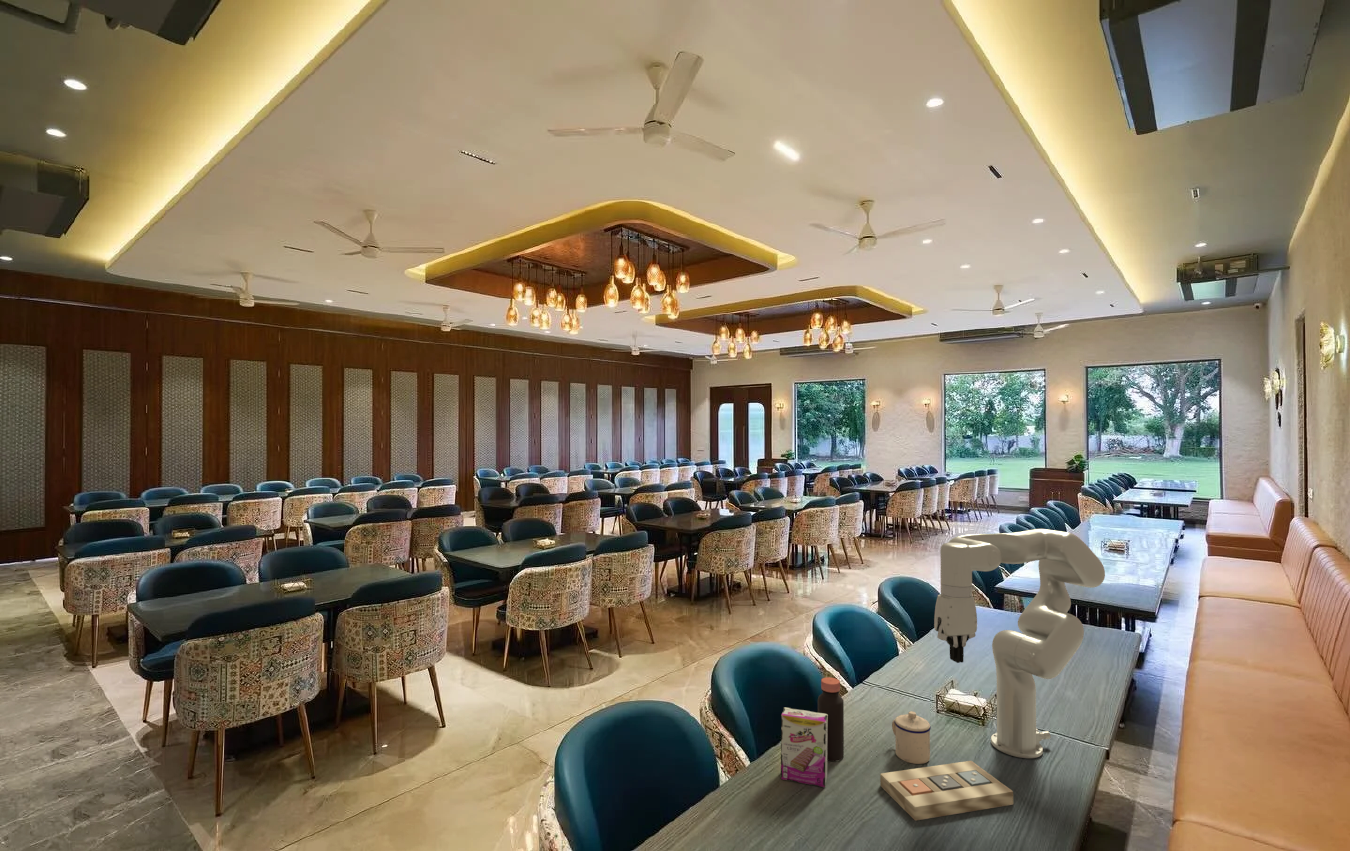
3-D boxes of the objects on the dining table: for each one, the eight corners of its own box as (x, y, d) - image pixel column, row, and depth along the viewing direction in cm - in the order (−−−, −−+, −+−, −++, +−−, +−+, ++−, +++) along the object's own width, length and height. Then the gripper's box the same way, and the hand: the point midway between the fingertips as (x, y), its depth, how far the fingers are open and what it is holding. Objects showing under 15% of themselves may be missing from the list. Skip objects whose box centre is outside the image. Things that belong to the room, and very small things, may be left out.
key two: (975, 782, 152) (975, 769, 152) (990, 793, 147) (990, 780, 147) (957, 785, 151) (957, 772, 151) (972, 796, 146) (972, 783, 146)
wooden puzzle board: (971, 772, 157) (971, 760, 157) (1013, 804, 144) (1013, 791, 144) (880, 785, 151) (880, 773, 151) (915, 820, 138) (915, 807, 138)
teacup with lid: (938, 760, 163) (938, 716, 163) (911, 768, 159) (911, 722, 159) (905, 740, 174) (905, 698, 174) (880, 746, 170) (879, 704, 171)
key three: (947, 786, 150) (947, 773, 150) (961, 798, 146) (961, 785, 146) (929, 789, 149) (929, 776, 149) (942, 801, 144) (942, 787, 144)
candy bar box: (780, 780, 154) (780, 714, 154) (783, 770, 158) (783, 706, 159) (826, 788, 150) (825, 721, 150) (828, 778, 155) (827, 712, 155)
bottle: (845, 763, 162) (844, 686, 162) (818, 760, 163) (818, 684, 163) (842, 749, 168) (842, 676, 169) (817, 747, 170) (817, 674, 170)
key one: (918, 791, 149) (918, 778, 149) (931, 803, 144) (931, 789, 144) (900, 793, 147) (900, 780, 147) (912, 806, 143) (912, 792, 143)
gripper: (970, 585, 167) (971, 653, 167) (922, 588, 163) (922, 658, 163) (990, 592, 160) (991, 663, 159) (940, 596, 156) (941, 668, 156)
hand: (956, 660), depth 161 cm, fingers closed
